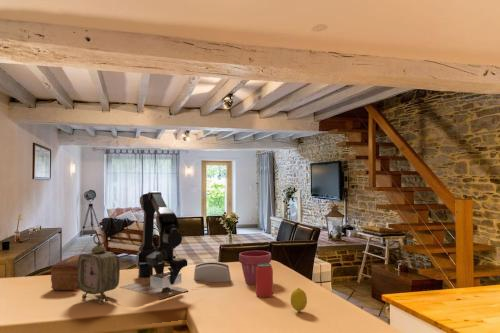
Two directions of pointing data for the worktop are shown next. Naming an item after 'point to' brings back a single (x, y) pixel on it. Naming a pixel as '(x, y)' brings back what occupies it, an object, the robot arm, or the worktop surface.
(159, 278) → the hollow metal box
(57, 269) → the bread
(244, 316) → the worktop surface
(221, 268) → the grey rounded block
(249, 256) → the plant pot
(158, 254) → the robot arm
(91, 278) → the tabletop clock
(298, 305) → the lemon
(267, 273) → the beer can
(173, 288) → the board
